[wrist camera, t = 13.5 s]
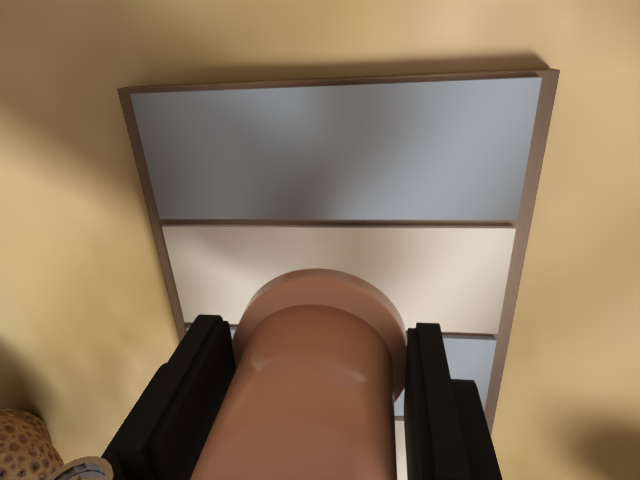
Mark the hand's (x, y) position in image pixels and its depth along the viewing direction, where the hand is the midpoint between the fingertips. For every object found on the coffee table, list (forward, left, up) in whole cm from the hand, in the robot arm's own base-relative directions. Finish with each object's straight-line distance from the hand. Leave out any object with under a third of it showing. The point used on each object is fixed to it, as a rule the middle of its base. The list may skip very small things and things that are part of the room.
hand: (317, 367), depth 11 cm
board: (0, -3, -5) cm, 6 cm away
